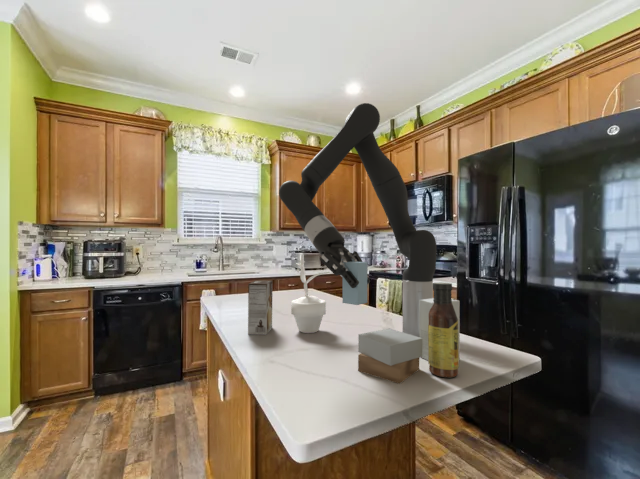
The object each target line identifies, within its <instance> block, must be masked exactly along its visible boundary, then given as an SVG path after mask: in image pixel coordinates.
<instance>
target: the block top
mask: <svg viewBox="0 0 640 479" xmlns="http://www.w3.org/2000/svg"><path fill="white" fill-rule="evenodd" d="M357 338H358V339H357V340H358V343H357V344H358V348H357V350H358V353H359V354H361V353H362V354H365V355H367V356H369V357H372V358H374V359H376V360H378V361H381V362H383V363H385V364H388V365H390V366H391V365H395V364H398V363H402V362H405V361H409V360H412V359H416V358H419V359H420V358H422V357H423V338H420V337H417V336H413V335H410V334H407V333H403V331H399V330H396V329H392V328H383V329H378V330H374V331H368V332H364V333H359V334H358V337H357Z"/></svg>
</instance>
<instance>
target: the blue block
mask: <svg viewBox="0 0 640 479" xmlns="http://www.w3.org/2000/svg"><path fill="white" fill-rule="evenodd" d="M368 263H369V262H368V261H362V262H346V265H347V267H348V268H349V271H351V272H352V274H353V275H354V276H355V277H356V279H357V280H358V281H359V284H358V285H357V286H356V287H355V288H351V286H350V285H349V284H348V282H347V281H346V280H345V278H344V277H342V304H347V305H354V306H360V305H364V304H367V303H368V285H367V279H368V278H369V275H368V272H369V271H368Z"/></svg>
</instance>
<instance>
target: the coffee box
mask: <svg viewBox="0 0 640 479" xmlns="http://www.w3.org/2000/svg"><path fill="white" fill-rule="evenodd" d="M273 282H274V281H273V280H254V281H251V282H250V283H248V291H247V292H248V293H247V296H248V298H247V299H248V301H247V304H248V305H247V307H248V308H247V334H248V335H264V336H265V335H268V334H269V332H270V331H271V329H272V328H273Z"/></svg>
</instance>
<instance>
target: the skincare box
mask: <svg viewBox="0 0 640 479" xmlns="http://www.w3.org/2000/svg"><path fill="white" fill-rule="evenodd" d="M451 299H452V304H453V307H454V310H455V313H456V316H457V318H458V345H459V347H458V350H459V359H460V358H461V356H460V354H461V353H460V352H461V351H460V350H461V349H460V345H461V344H460V343H461V342H460V341H461V340H460V339H461V338H460V336H461V335H460V332H461V331H460V330H461V329H460V326H461V323H460V320H461V319H460V315H461V314H460V307H461V306H460V304H461V303H460V300H459V299H453V298H451ZM433 300H434V297H433V298H431V299H423V300H419V302H420V303H419V309H420V338H423V357H421V358H422V359H424V360H426V361H428V362H429V355H428V324H429V311H430V309H431V307H432V306H433V304H434V301H433Z"/></svg>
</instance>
